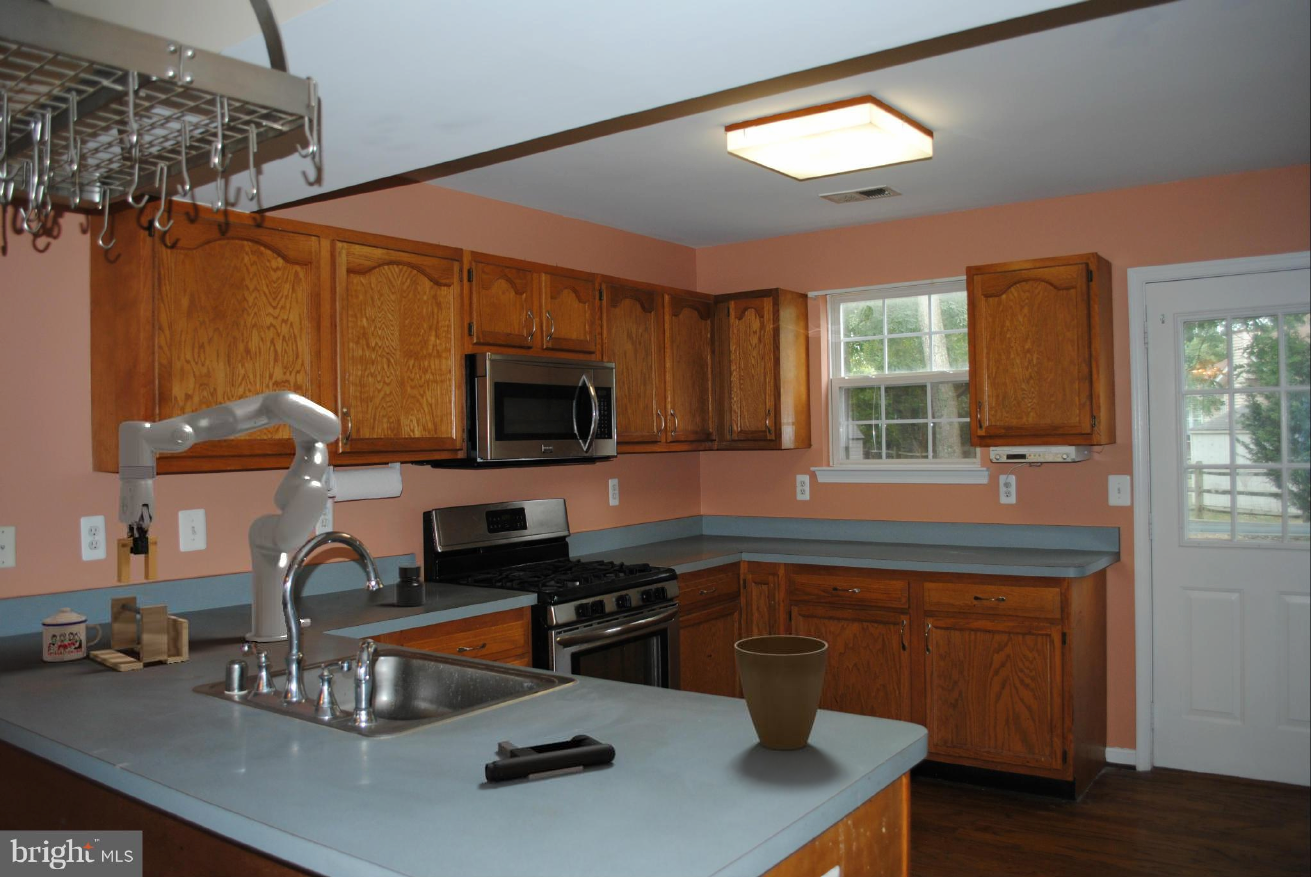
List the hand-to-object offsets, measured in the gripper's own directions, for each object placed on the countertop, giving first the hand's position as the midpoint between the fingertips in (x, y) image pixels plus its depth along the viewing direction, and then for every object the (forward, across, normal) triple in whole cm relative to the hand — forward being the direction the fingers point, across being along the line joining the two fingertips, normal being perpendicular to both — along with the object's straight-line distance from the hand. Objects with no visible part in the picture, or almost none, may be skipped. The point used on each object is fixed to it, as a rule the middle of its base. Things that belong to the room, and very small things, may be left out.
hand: (137, 553), depth 222 cm
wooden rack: (+24, 0, 0) cm, 25 cm away
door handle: (+25, +126, +16) cm, 129 cm away
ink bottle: (+25, -20, +84) cm, 90 cm away
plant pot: (+25, +148, +48) cm, 158 cm away
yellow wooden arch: (+6, 0, 0) cm, 6 cm away
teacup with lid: (+25, -14, -10) cm, 30 cm away
